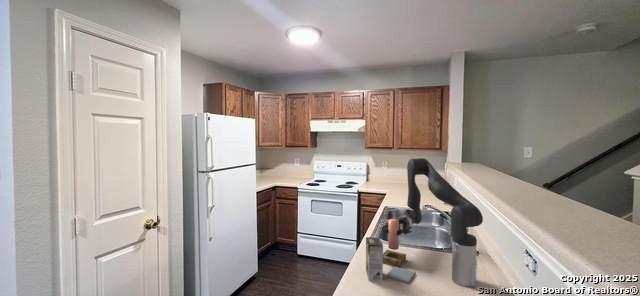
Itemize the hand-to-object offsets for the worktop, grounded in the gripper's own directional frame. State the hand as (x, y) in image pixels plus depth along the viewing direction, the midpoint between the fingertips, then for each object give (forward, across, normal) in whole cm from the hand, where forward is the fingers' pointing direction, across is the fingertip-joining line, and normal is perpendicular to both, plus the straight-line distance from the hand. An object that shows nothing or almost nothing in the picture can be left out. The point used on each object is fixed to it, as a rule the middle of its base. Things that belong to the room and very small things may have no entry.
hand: (392, 232), depth 137 cm
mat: (+10, +8, +16) cm, 20 cm away
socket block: (-2, 0, +15) cm, 16 cm away
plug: (-2, 0, +8) cm, 9 cm away
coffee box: (+17, -2, +16) cm, 23 cm away
